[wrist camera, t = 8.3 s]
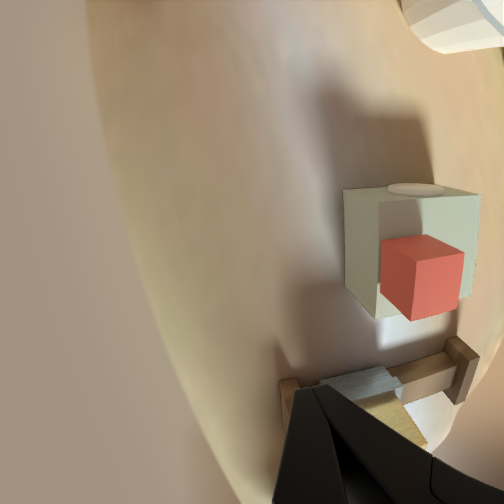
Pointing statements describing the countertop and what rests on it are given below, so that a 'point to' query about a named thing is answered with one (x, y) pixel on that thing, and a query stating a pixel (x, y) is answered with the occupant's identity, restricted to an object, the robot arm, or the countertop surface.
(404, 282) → the red cube
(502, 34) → the white cup
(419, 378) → the brown i-shaped bar
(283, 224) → the countertop surface
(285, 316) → the countertop surface
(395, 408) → the carriage
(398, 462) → the robot arm
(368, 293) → the cabinet
